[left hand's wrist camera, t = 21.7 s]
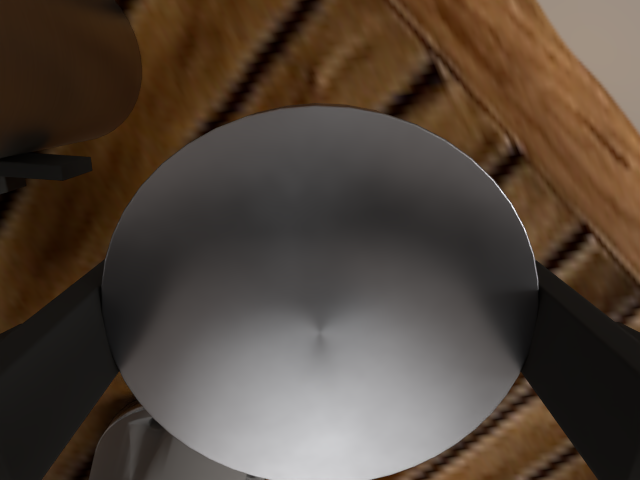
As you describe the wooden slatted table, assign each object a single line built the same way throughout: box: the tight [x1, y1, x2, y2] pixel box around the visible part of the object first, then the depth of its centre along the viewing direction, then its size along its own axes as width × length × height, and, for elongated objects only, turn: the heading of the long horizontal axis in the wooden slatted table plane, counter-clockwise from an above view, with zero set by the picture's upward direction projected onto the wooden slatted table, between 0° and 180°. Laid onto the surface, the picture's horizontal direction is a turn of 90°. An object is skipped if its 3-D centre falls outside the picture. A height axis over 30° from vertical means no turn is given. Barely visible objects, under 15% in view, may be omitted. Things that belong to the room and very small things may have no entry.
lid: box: [101, 103, 539, 480], centre depth 11 cm, size 11×11×2 cm
